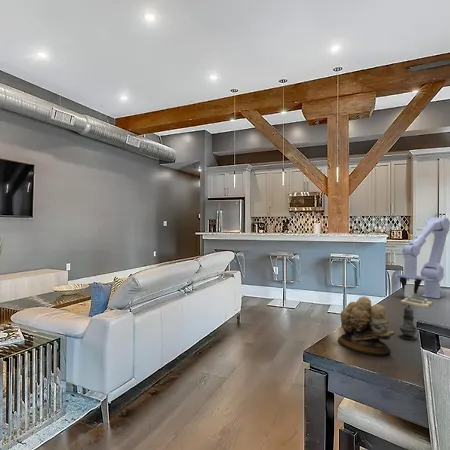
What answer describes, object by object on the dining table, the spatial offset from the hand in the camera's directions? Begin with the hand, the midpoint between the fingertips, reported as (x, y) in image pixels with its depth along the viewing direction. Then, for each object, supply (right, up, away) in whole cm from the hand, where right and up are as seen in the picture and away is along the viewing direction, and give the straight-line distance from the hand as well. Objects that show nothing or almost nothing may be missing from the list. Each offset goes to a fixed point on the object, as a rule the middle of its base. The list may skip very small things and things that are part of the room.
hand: (410, 292), depth 174 cm
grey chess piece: (-34, -4, -58) cm, 67 cm away
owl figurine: (-53, -4, -67) cm, 85 cm away
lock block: (0, -2, 0) cm, 2 cm away
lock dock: (-3, -4, -10) cm, 11 cm away
